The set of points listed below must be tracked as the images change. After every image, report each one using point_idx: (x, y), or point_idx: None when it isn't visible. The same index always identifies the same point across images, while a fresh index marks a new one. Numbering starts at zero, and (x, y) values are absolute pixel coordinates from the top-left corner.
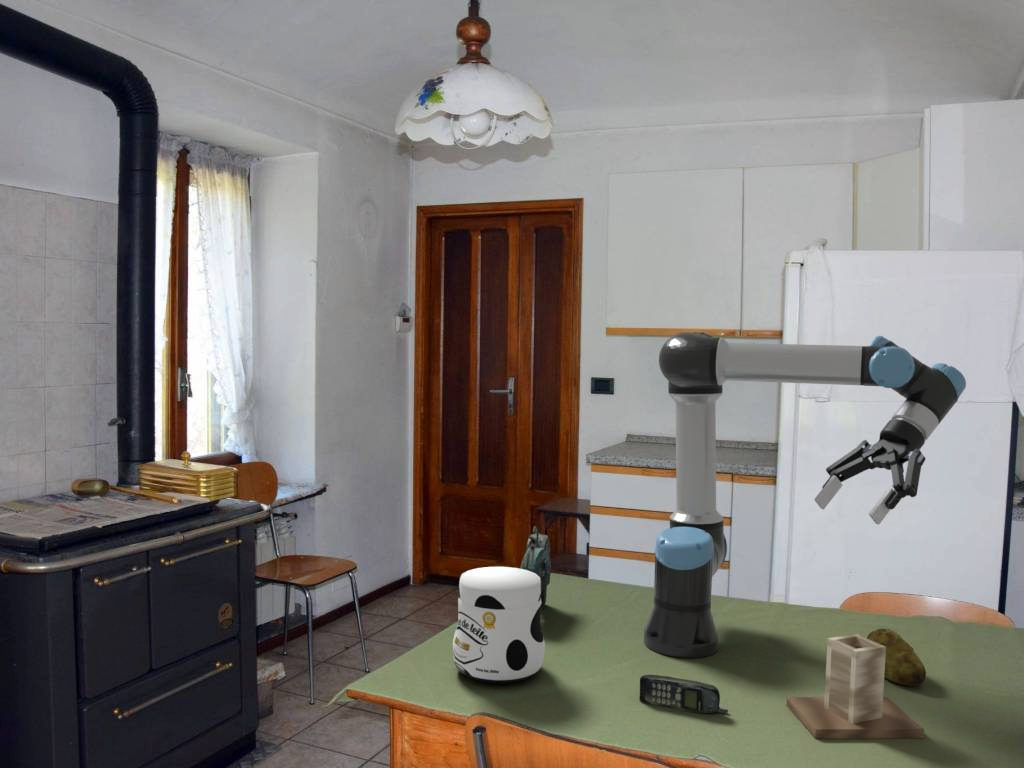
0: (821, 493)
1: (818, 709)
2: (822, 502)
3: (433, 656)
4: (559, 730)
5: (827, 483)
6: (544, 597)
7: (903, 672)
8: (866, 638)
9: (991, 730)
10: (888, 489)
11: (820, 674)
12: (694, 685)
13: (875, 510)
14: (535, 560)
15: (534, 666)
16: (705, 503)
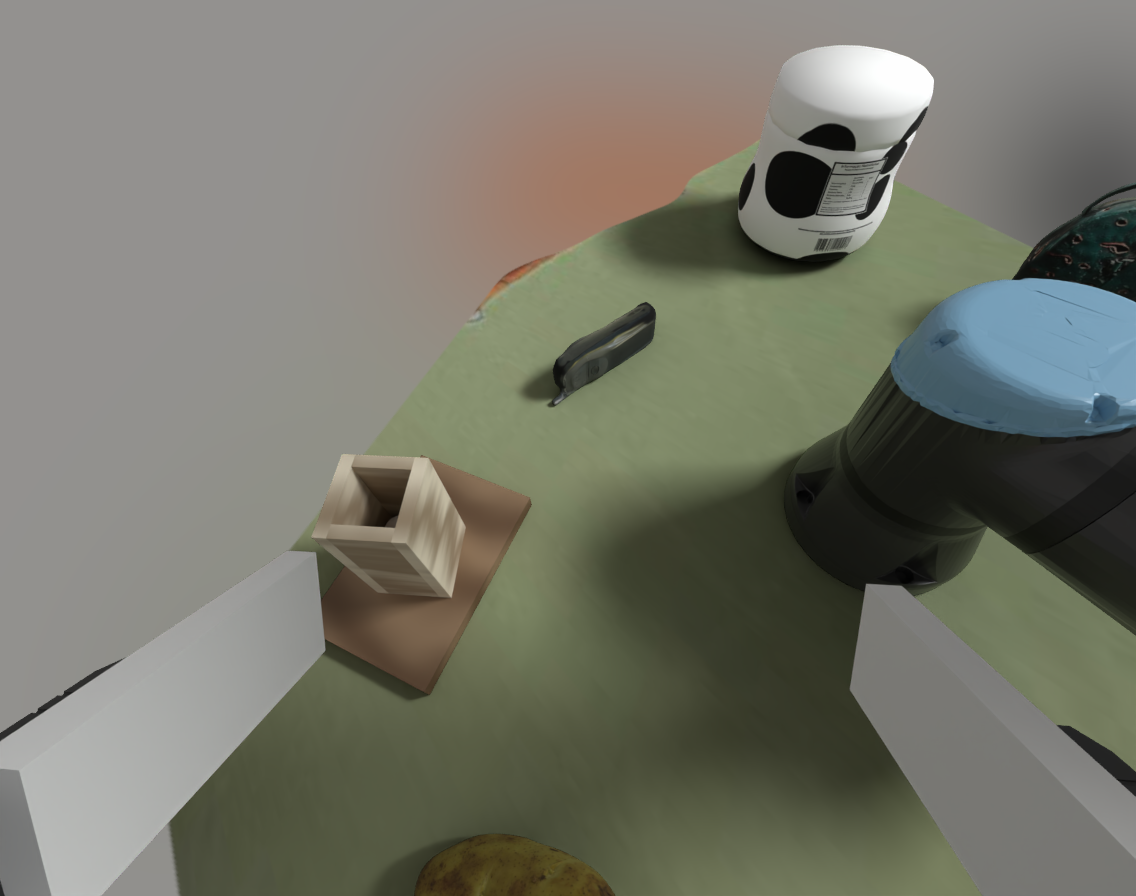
0: (919, 629)
1: (465, 511)
2: (870, 657)
3: None
4: (608, 232)
5: (1052, 733)
6: None
7: (454, 846)
8: (371, 539)
9: (221, 819)
10: (37, 744)
11: (618, 695)
12: (579, 339)
13: (256, 575)
14: (1129, 210)
15: (749, 227)
16: None
